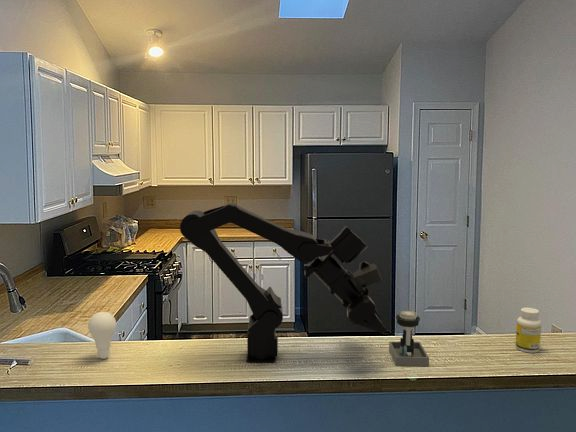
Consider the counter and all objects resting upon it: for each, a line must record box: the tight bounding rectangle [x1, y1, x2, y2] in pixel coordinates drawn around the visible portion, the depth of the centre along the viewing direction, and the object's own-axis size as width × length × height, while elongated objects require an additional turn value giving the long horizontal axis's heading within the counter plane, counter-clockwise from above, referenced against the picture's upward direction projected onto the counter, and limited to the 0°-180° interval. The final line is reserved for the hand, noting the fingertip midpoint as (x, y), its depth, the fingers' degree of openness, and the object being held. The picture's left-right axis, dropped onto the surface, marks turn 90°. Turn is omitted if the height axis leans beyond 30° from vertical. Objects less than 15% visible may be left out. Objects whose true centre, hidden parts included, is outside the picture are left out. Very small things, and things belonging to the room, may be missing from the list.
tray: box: [388, 341, 430, 367], centre depth 125 cm, size 7×9×2 cm
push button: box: [395, 310, 421, 357], centre depth 125 cm, size 7×5×10 cm
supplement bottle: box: [515, 307, 542, 354], centre depth 130 cm, size 5×5×10 cm
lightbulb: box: [87, 311, 117, 360], centre depth 123 cm, size 6×6×11 cm
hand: (381, 324), depth 124 cm, fingers open, 9 cm apart
